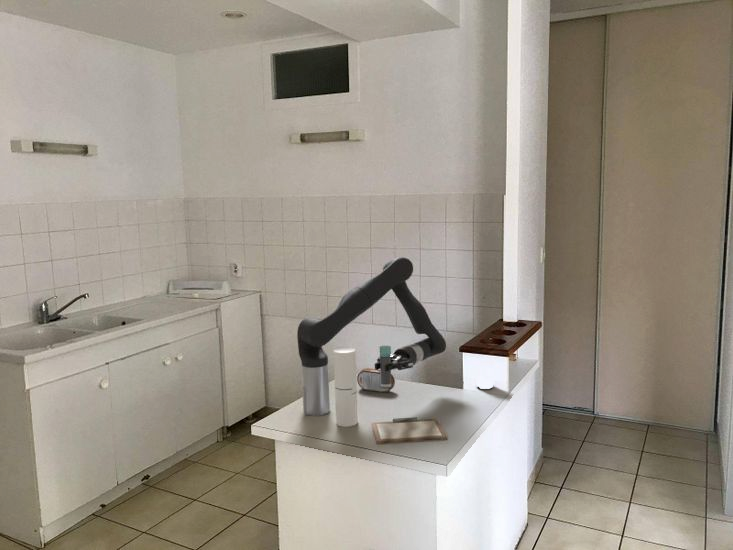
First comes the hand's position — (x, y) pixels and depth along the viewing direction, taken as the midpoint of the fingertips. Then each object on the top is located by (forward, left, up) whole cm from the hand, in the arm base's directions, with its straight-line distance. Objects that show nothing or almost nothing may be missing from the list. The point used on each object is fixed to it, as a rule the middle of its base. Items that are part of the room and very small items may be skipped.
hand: (380, 367), depth 204 cm
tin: (+1, +29, -18) cm, 34 cm away
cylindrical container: (-12, -2, -18) cm, 22 cm away
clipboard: (+7, -13, -18) cm, 23 cm away
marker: (+2, +2, -8) cm, 8 cm away
